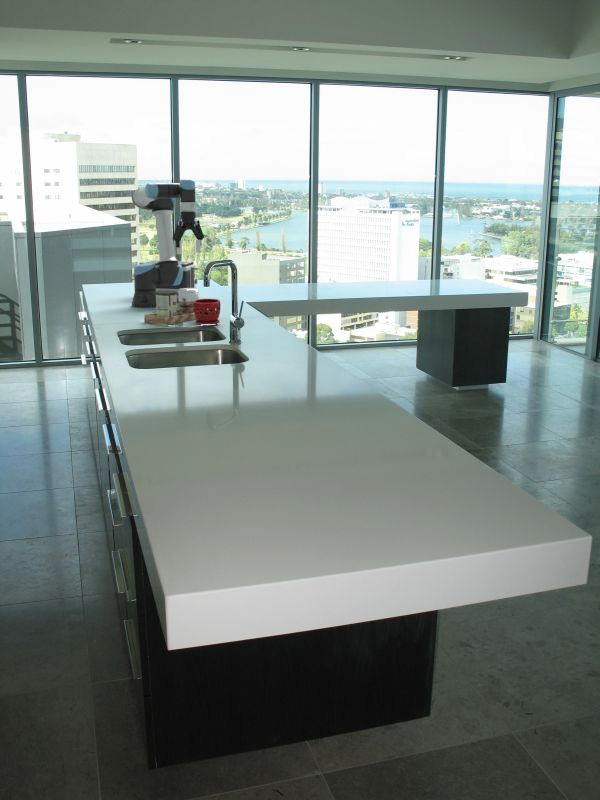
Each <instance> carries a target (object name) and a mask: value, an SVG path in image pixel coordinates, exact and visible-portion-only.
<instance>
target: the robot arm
mask: <svg viewBox="0 0 600 800" xmlns="http://www.w3.org/2000/svg"><path fill="white" fill-rule="evenodd" d="M179 181H180V182H178V183H177V182H175V183H174V182H167V183H165V182H161V183H160V182H149V183H146V185H145V187H143V188H137V189H136V190H134V191H133V193H132V195H131V200H132V201H131V202H132V203H133V205H134V206H135V207H136V208H139V209H141V210H145V211H151V213H152V216H155V226H156V236H157V247H158V258H159V259H158V260H157V261H158V262H157V265H155V263H143V264H136V265H135V266H134V268H133V283H134V294H133V296H132V301H131V307H134V308H140V307H141V308H149V309H150V308H156V286H176V285H179V284H180V283H181V280H182V276H183V269H182V265H180V264H178V261H179V260H178V259H177V258H176V256H175V248H176V255H182V252H183V251H182V250H183V249H182V248H183V247H182V238H183V236H184V234H185V233H186V231H188V230H190V231H191V232H192V233H193V235H194V236H195V238H196V239H195V253H196V254H197V253H200V254H201V251H202V250H201V249H202V247H201V246H202V241H203V239H205V234H204V233H203V230H202V227H201V225H200V220H198V219H196V218H197V217H196V181H195V180H194V179H180V180H179ZM177 199H180V219H181V220H177V221H176V226H175V228H174V229H175V230H174V233H173V224H172V215H173V213H174V210H176V208H177ZM174 241H175V245H174Z"/></svg>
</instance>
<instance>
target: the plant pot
mask: <svg viewBox="0 0 600 800" xmlns="http://www.w3.org/2000/svg"><path fill="white" fill-rule="evenodd" d="M193 308H194V314H195V317H196V320H195V324H198V325H200V324H217V323H218V324H219V323H220V319H219V317H220V314H221V300H220V299H217V298H198V300H195V301H193ZM218 324H217V325H218Z"/></svg>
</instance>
